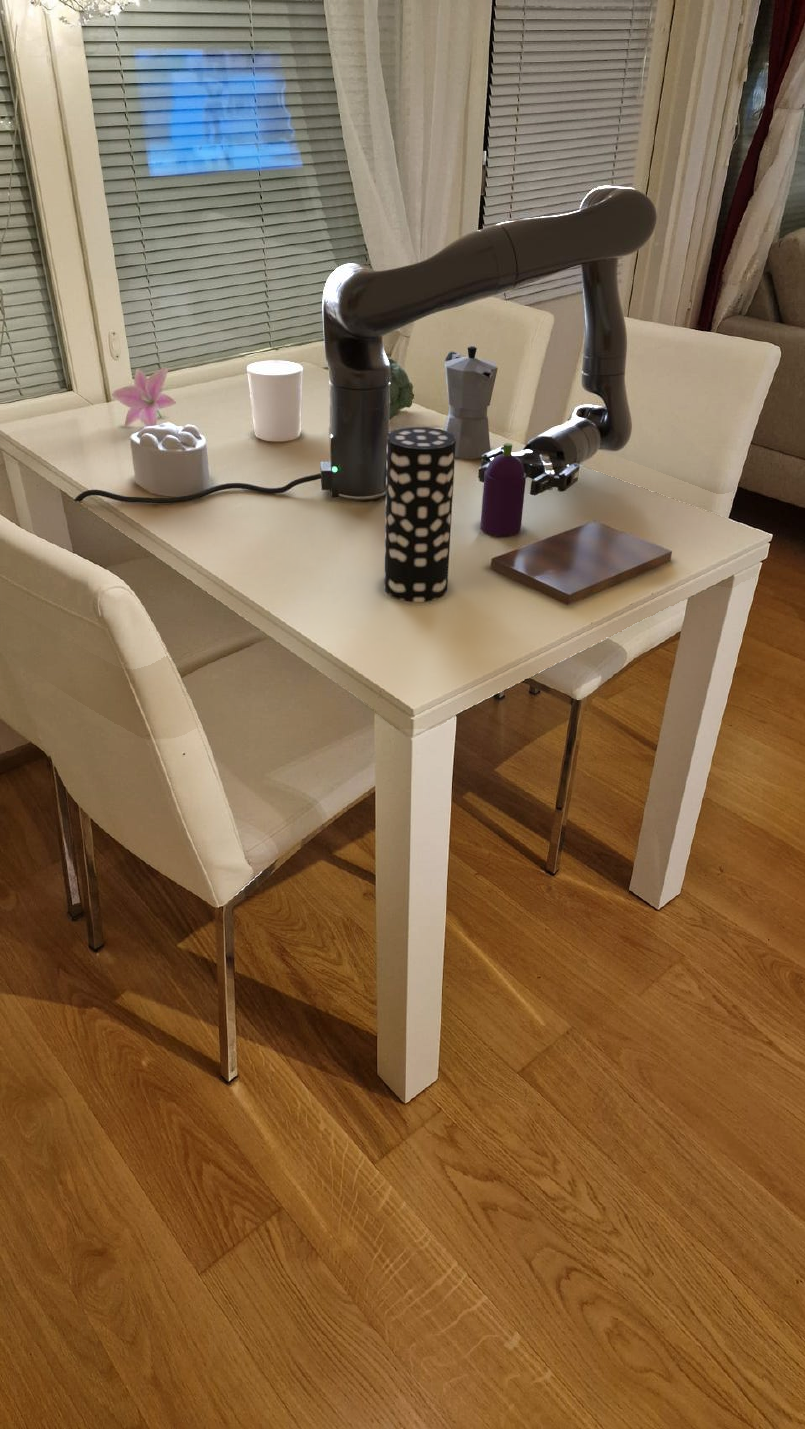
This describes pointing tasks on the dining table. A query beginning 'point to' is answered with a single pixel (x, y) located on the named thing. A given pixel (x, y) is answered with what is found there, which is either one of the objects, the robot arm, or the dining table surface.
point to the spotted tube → (418, 512)
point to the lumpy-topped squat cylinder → (170, 460)
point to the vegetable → (399, 389)
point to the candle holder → (276, 399)
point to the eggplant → (503, 495)
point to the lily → (144, 397)
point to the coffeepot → (469, 402)
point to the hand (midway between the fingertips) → (506, 482)
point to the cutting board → (580, 561)
